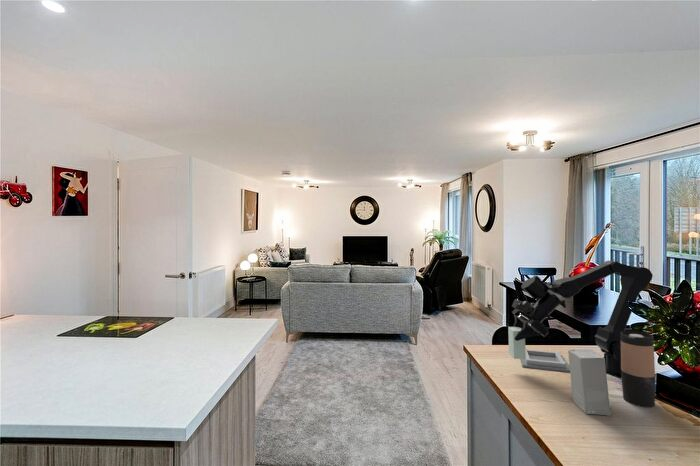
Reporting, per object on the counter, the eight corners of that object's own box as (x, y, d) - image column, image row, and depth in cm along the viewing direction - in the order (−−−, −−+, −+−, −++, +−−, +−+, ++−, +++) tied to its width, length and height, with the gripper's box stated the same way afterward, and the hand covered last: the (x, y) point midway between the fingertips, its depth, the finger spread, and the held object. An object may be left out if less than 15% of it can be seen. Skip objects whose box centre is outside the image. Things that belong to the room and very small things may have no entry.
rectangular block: (520, 353, 124) (519, 327, 124) (525, 358, 119) (524, 331, 119) (509, 353, 125) (508, 327, 125) (514, 358, 120) (513, 330, 120)
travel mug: (647, 396, 101) (645, 331, 101) (661, 409, 94) (659, 338, 94) (617, 393, 104) (615, 329, 104) (628, 405, 97) (626, 336, 97)
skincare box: (611, 416, 91) (609, 359, 91) (582, 414, 93) (580, 357, 93) (595, 401, 99) (593, 348, 100) (568, 399, 101) (567, 347, 101)
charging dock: (562, 356, 135) (561, 351, 135) (572, 372, 120) (571, 366, 120) (518, 352, 141) (518, 347, 141) (522, 367, 126) (522, 360, 126)
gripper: (516, 288, 131) (488, 316, 132) (537, 296, 112) (504, 329, 114) (538, 307, 130) (509, 335, 131) (563, 320, 111) (529, 352, 113)
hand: (512, 337), depth 122 cm, fingers closed on rectangular block, 5 cm apart
